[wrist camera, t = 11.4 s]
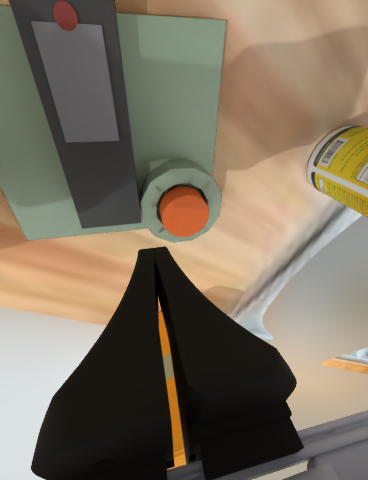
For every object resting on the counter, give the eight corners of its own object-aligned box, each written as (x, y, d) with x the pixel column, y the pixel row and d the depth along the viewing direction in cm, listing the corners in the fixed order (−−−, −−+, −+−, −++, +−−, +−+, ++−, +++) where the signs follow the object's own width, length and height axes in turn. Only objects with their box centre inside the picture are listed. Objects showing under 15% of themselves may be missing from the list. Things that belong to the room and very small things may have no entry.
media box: (35, 235, 20) (20, 260, 17) (-75, 7, 11) (-141, -18, 8) (206, 218, 22) (217, 237, 20) (221, 25, 14) (245, 10, 11)
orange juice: (115, 332, 30) (100, 602, 15) (170, 306, 30) (217, 563, 14) (143, 352, 35) (156, 573, 19) (192, 331, 34) (246, 543, 19)
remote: (140, 209, 19) (141, 224, 17) (86, 213, 18) (81, 230, 16) (112, -20, 11) (108, -44, 9) (16, -29, 10) (-12, -57, 8)
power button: (160, 227, 18) (163, 239, 17) (158, 187, 16) (160, 197, 15) (201, 223, 19) (207, 234, 17) (204, 184, 17) (211, 193, 15)
